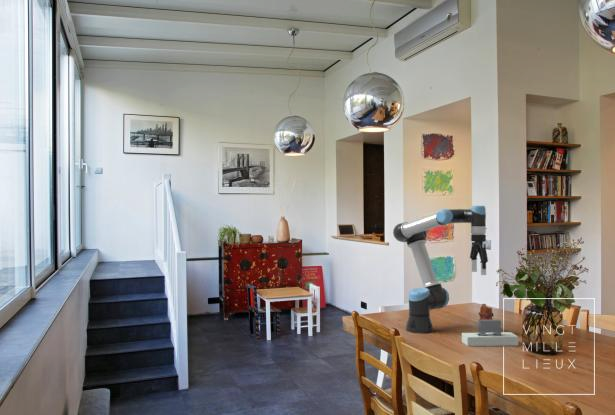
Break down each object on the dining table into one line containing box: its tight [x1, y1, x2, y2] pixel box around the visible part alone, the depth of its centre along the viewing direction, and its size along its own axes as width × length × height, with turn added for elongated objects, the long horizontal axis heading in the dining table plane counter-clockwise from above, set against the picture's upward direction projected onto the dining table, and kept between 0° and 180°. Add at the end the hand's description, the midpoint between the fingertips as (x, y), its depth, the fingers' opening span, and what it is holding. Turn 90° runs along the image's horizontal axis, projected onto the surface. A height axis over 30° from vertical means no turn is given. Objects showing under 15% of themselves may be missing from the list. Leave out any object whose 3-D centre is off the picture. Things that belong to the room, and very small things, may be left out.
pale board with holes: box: [461, 331, 519, 347], centre depth 257 cm, size 26×9×4 cm, turn 91°
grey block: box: [477, 318, 502, 336], centre depth 257 cm, size 11×3×12 cm, turn 91°
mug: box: [478, 303, 494, 320], centre depth 281 cm, size 15×8×15 cm, turn 168°
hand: (478, 273), depth 269 cm, fingers open, 13 cm apart
